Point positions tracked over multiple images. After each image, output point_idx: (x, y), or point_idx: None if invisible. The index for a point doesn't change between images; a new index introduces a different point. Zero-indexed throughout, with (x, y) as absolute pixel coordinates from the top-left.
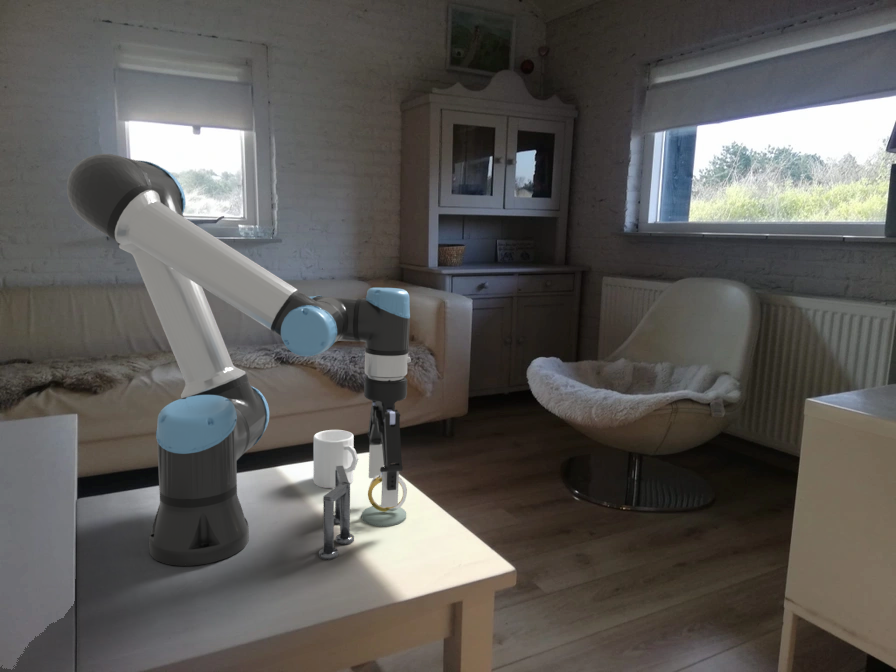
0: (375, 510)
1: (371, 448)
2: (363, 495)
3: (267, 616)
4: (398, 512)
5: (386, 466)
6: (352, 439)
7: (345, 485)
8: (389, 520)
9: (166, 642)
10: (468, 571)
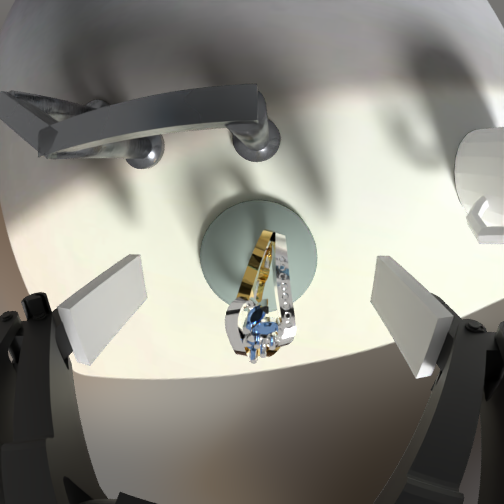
0: None
1: (428, 315)
2: (402, 229)
3: (9, 77)
4: None
5: (4, 318)
6: None
7: (32, 143)
8: (212, 265)
9: (18, 12)
10: None
